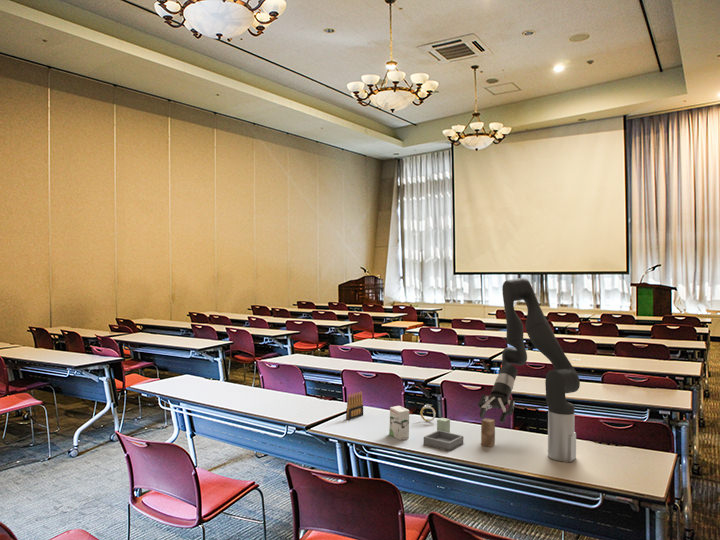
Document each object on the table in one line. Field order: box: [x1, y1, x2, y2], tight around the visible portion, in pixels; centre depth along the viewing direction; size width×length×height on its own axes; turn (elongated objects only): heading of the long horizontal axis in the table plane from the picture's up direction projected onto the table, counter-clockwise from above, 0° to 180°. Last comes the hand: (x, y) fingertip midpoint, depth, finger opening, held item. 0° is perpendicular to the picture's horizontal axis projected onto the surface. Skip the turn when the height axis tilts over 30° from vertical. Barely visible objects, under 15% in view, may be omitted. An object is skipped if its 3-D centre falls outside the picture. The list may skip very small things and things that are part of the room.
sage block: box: [436, 417, 451, 433], centre depth 216 cm, size 4×4×6 cm
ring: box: [419, 403, 437, 423], centre depth 232 cm, size 7×3×8 cm, turn 61°
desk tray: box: [423, 430, 464, 452], centre depth 202 cm, size 12×12×3 cm
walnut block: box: [480, 417, 496, 448], centre depth 202 cm, size 4×4×10 cm
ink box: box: [388, 405, 410, 441], centre depth 211 cm, size 9×5×12 cm, turn 28°
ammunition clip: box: [345, 390, 364, 421], centre depth 238 cm, size 11×2×12 cm, turn 140°
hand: (491, 419), depth 204 cm, fingers open, 8 cm apart
